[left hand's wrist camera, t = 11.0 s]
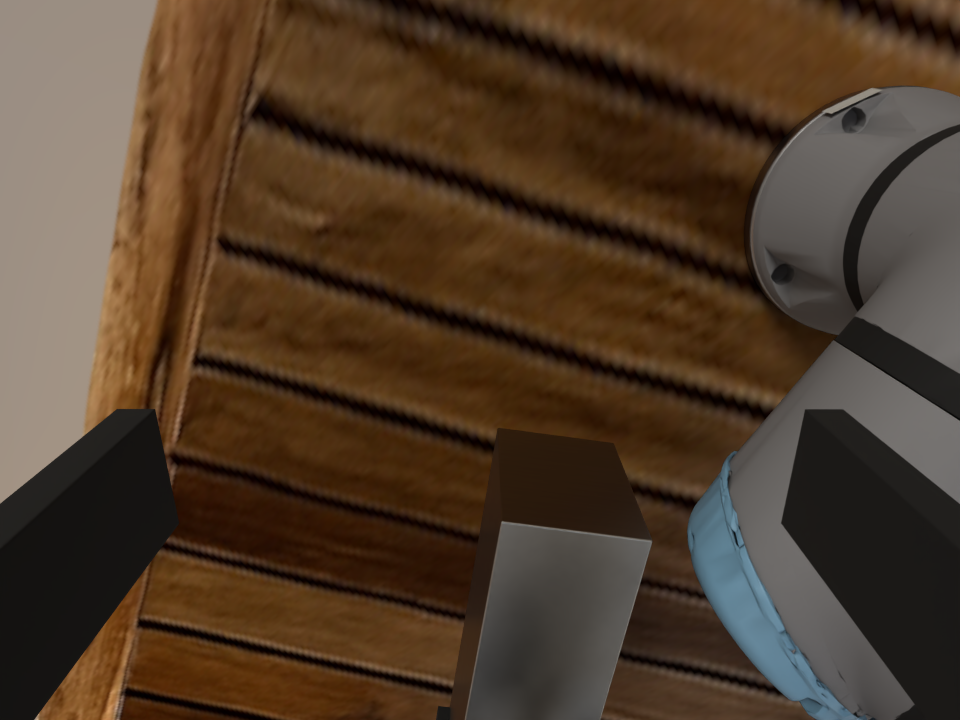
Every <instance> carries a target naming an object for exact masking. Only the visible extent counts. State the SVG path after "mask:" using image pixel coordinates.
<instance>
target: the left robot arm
mask: <svg viewBox="0 0 960 720" xmlns="http://www.w3.org/2000/svg"><path fill="white" fill-rule="evenodd" d="M744 243H745V251H746V256H747V261H748V264H749V267H750V270H751V273H752V275H753V277H754V279H755V281H756V283H757V285H758V286H759V288H760V289H761V291H762V292H763V293H764V295H765V296H766V297H767V298H768V299H769V300H770V301H771V302H772V303H773V304H774V305H775V306H776V307H777V308H779V309H780V310H781V311H783V312H784V313H786V314H787V315H789V316H790V317H792V318H793V319H795V320H797V321H798V322H800V323H802V324H804V325H806V326H809V327H811V328H814V329H817V330H820V331H824V332H827V333H831V334H835V335H838V336H837V337H836V339H834V340H835V341H836V342H835V341H834V340H833V341H832V342H831V343H830V345H829V346H828V347H827V348H826V349H825V350H824V352H823V353H822V354H821V355H820V356H819V357H818V359H817V360H816V361H815V362H814V363H813V364H812V366H811V367H810V368H809V369H808V370H807V371H806V373H805V374H804V375H803V376H802V377H801V378H800V380H799V381H798V382H797V383H796V384H795V385H794V387H793V388H792V389H791V390H790V391H789V392H788V394H787V395H786V396H785V397H784V398H783V399H782V401H781V402H780V403H779V404H778V405H777V406H776V408H775V409H774V410H773V411H772V412H771V413H770V415H769V416H768V417H767V418H766V419H765V420H764V422H763V423H762V424H761V425H760V426H759V427H758V429H757V430H756V431H755V432H754V433H753V434H752V436H751V437H750V438H749V439H748V440H747V441H746V443H745V444H744V445H743V446H742V447H741V448H740V450H739V451H734V452H732V453H731V454H730V455H729V456H728V457H727V458H726V460H725V461H724V463H723V466H722V470H721V472H720V474H719V475H718V476H717V478H716V479H715V480H714V482H713V483H712V484H711V486H710V487H709V488H708V490H707V491H706V492H705V493H704V495H703V496H702V497H701V499H700V500H699V501H698V503H697V504H696V505H695V507H694V509H693V511H692V513H691V515H690V519H689V522H688V530H687V537H688V546H689V550H690V552H691V560H692V564H693V568H694V571H695V573H696V576H697V578H698V580H699V583H700V585H701V587H702V589H703V591H704V593H705V595H706V597H707V599H708V601H709V603H710V604H711V606H712V608H713V609H714V611H715V613H716V614H717V616H718V618H719V619H720V621H721V622H722V624H723V625H724V627H725V628H726V630H727V631H728V632H729V634H730V635H731V636H732V638H733V639H734V640H735V642H736V643H737V645H738V646H739V647H740V648H741V650H742V651H743V652H744V653H745V655H746V656H747V657H748V658H749V659H750V661H751V662H752V663H753V664H754V665H755V667H756V668H757V669H758V670H759V671H760V672H761V673H762V674H763V675H764V676H765V677H766V678H767V680H769V681H770V682H771V683H772V684H773V685H774V686H775V687H776V688H777V689H778V690H779V691H780V692H781V693H782V694H783V695H785V696H786V697H787V698H788V699H789V700H791V701H799V702H800V703H801V705H802V706H803V707H804V709H805V710H806V712H807V713H808V714H809V715H810V716H812V717H813V718H815V719H816V720H960V97H958V96H956V95H953V94H951V93H948V92H944V91H940V90H936V89H930V88H925V87H918V86H892V87H879V88H871V89H867V90H862V91H859V92H855V93H852V94H849V95H846V96H844V97H841V98H839V99H836V100H834V101H832V102H830V103H828V104H826V105H825V106H823V107H821V108H820V109H818V110H816V111H815V112H813V113H812V114H811V115H809V116H808V117H807V118H805V119H804V120H803V121H801V122H800V123H799V124H798V125H797V126H796V127H795V128H793V129H792V130H791V131H790V132H789V133H788V134H787V135H786V136H785V137H784V139H783V140H782V141H781V142H780V143H779V144H778V146H777V147H776V148H775V149H774V151H773V152H772V154H771V155H770V156H769V158H768V159H767V161H766V163H765V164H764V166H763V168H762V170H761V171H760V173H759V175H758V177H757V180H756V182H755V184H754V187H753V189H752V192H751V195H750V198H749V202H748V206H747V210H746V216H745V226H744ZM843 346H844V347H843ZM848 349H849V350H848ZM850 350H851V351H852V352H851V351H850ZM853 352H854V353H855V354H854V353H853ZM856 354H857V355H856ZM858 355H859V356H860V357H859V356H858ZM861 357H862V358H863V359H862V358H861ZM864 359H865V360H866V361H865V360H864ZM867 361H868V362H867ZM870 363H871V364H870ZM873 365H874V366H873ZM875 366H876V367H877V368H876V367H875ZM878 368H879V369H880V370H879V369H878ZM881 370H882V371H881ZM884 372H885V373H884ZM887 374H888V375H887ZM890 376H891V377H890ZM892 377H893V378H892ZM895 379H896V380H895ZM898 381H899V382H898ZM900 382H901V383H902V384H901V383H900ZM903 384H904V385H903ZM906 386H907V387H906ZM909 388H910V389H909ZM912 390H913V391H912ZM915 392H916V393H915ZM923 397H924V398H923ZM926 399H927V400H926ZM931 402H932V403H931ZM934 404H935V405H934ZM937 406H938V407H937ZM939 407H940V408H941V409H940V408H939ZM942 409H943V410H942ZM945 411H946V412H945ZM948 413H949V414H948ZM951 415H952V416H951ZM178 524H179V521H178V516H177V511H176V507H175V502H174V497H173V492H172V488H171V483H170V478H169V473H168V469H167V464H166V459H165V454H164V450H163V445H162V440H161V435H160V431H159V426H158V421H157V416H156V412H155V409H117V410H115V411H114V412H113V413H112V414H110V415H109V416H108V417H107V418H106V419H104V420H103V421H102V422H101V423H99V424H98V425H97V426H96V427H94V428H93V429H92V430H91V431H89V432H88V433H87V434H86V435H85V436H83V437H82V438H81V439H80V440H78V441H77V442H76V443H75V444H73V445H72V446H71V447H70V448H68V449H67V450H66V451H65V452H64V453H62V454H61V455H60V456H59V457H57V458H56V459H55V460H54V461H52V462H51V463H50V464H49V465H48V466H46V467H45V468H44V469H43V470H41V471H40V472H39V473H38V474H36V475H35V476H34V477H33V478H32V479H30V480H29V481H28V482H27V483H25V484H24V485H23V486H22V487H20V488H19V489H18V490H17V491H15V492H14V493H13V494H12V495H10V496H9V497H8V498H7V499H6V500H4V501H3V502H2V503H1V504H0V720H34V719H35V718H36V716H37V715H38V714H39V712H40V711H41V710H42V708H43V707H44V706H45V704H46V703H47V702H48V700H49V699H50V697H51V696H52V695H53V693H54V692H55V691H56V689H57V688H58V687H59V685H60V684H61V683H62V681H63V680H64V679H65V677H66V676H67V674H68V673H69V672H70V670H71V669H72V668H73V666H74V665H75V664H76V662H77V661H78V660H79V658H80V657H81V655H82V654H83V653H84V651H85V650H86V649H87V647H88V646H89V645H90V643H91V642H92V641H93V639H94V638H95V636H96V635H97V634H98V632H99V631H100V630H101V628H102V627H103V626H104V624H105V623H106V622H107V620H108V619H109V618H110V616H111V615H112V613H113V612H114V611H115V609H116V608H117V607H118V605H119V604H120V603H121V601H122V600H123V599H124V597H125V596H126V594H127V593H128V592H129V590H130V589H131V588H132V586H133V585H134V584H135V582H136V581H137V580H138V578H139V577H140V575H141V574H142V573H143V571H144V570H145V569H146V567H147V566H148V565H149V563H150V562H151V561H152V559H153V558H154V557H155V555H156V554H157V552H158V551H159V550H160V548H161V547H162V546H163V544H164V543H165V542H166V540H167V539H168V538H169V536H170V535H171V533H172V532H173V531H174V529H175V528H176V527H177V525H178Z"/></svg>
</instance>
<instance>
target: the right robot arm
mask: <svg viewBox="0 0 960 720" xmlns="http://www.w3.org/2000/svg"><path fill="white" fill-rule="evenodd" d="M436 720H450V707H441V706H438V712H437V718H436Z"/></svg>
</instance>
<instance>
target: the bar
mask: <svg viewBox="0 0 960 720" xmlns="http://www.w3.org/2000/svg"><path fill="white" fill-rule="evenodd" d="M651 544H652V539H651V536H650V534H649V531H648V529H647V526H646V524H645V521H644V519H643V516H642V514H641V511H640V509H639V506H638V504H637V501H636V498H635V496H634V493H633V491H632V488H631V486H630V483H629V481H628V478H627V476H626V473H625V471H624V468H623V466H622V463H621V461H620V458H619V456H618V453H617V451H616V448H615V445H614V444H613V443H608V442H600V441H593V440H585V439H578V438H570V437H563V436H555V435H548V434H540V433H533V432H525V431H518V430H510V429H503V428H498V429H497V435H496V441H495V447H494V453H493V458H492V464H491V470H490V476H489V482H488V488H487V493H486V499H485V505H484V511H483V517H482V523H481V528H480V534H479V540H478V546H477V552H476V558H475V563H474V569H473V575H472V581H471V587H470V593H469V598H468V604H467V610H466V616H465V622H464V628H463V633H462V639H461V645H460V651H459V657H458V663H457V668H456V674H455V680H454V686H453V692H452V698H451V703H450V720H600V719H601V715H602V712H603V709H604V705H605V702H606V698H607V695H608V691H609V688H610V685H611V681H612V678H613V674H614V671H615V667H616V664H617V661H618V657H619V654H620V650H621V647H622V644H623V640H624V637H625V633H626V630H627V626H628V623H629V620H630V616H631V613H632V609H633V606H634V602H635V599H636V596H637V592H638V589H639V585H640V582H641V578H642V575H643V572H644V568H645V565H646V561H647V558H648V554H649V551H650V548H651Z"/></svg>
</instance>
